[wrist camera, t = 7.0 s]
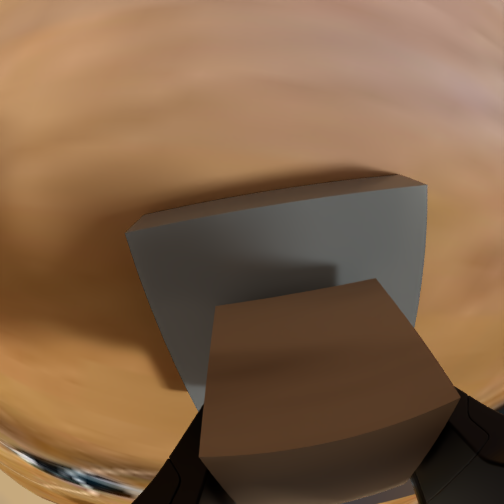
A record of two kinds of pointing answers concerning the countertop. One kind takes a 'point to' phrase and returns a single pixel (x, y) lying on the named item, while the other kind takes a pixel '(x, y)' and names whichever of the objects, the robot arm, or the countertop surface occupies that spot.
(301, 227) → the slate pad
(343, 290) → the walnut cube
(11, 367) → the countertop surface
